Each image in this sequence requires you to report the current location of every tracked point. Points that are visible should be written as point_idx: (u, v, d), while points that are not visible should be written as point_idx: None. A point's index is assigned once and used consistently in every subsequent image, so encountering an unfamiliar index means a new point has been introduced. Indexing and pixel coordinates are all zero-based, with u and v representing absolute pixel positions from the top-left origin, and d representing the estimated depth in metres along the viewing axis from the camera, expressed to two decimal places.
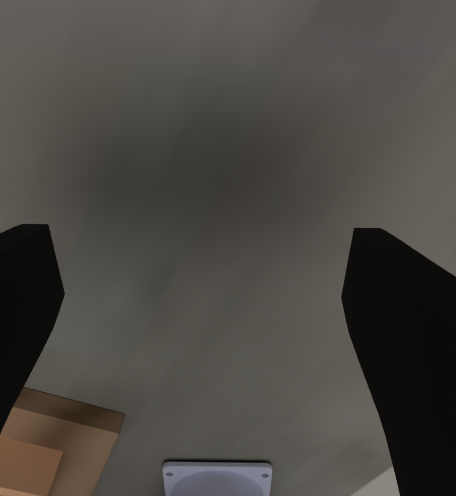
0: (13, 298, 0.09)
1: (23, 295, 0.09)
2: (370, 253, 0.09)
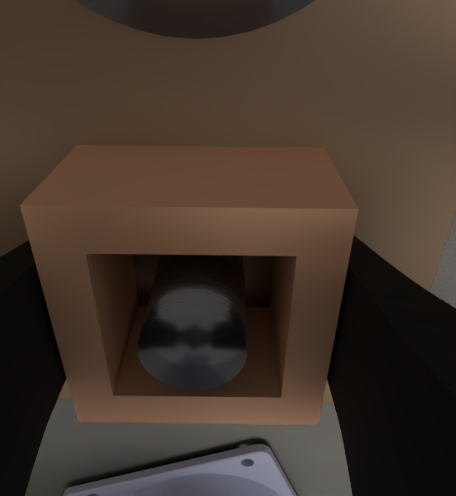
0: None
1: None
2: None
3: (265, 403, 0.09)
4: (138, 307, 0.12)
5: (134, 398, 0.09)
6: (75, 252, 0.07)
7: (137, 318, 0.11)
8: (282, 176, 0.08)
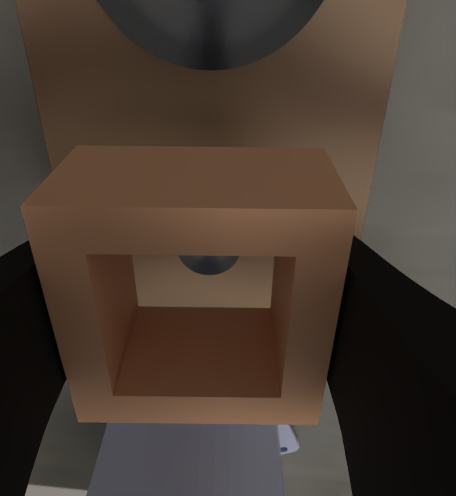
0: None
1: None
2: None
3: (264, 404, 0.09)
4: (138, 307, 0.12)
5: (134, 398, 0.09)
6: (75, 252, 0.07)
7: (137, 318, 0.11)
8: (282, 177, 0.08)
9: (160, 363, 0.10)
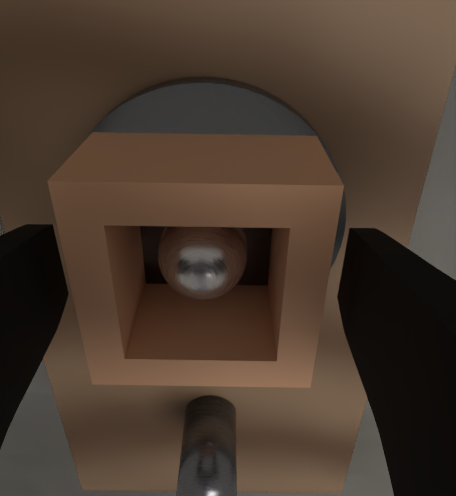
0: (19, 298, 0.09)
1: (28, 295, 0.09)
2: (365, 253, 0.09)
3: (262, 367, 0.10)
4: (145, 284, 0.13)
5: (143, 362, 0.10)
6: (94, 224, 0.08)
7: (145, 294, 0.12)
8: (278, 159, 0.09)
9: (167, 332, 0.11)
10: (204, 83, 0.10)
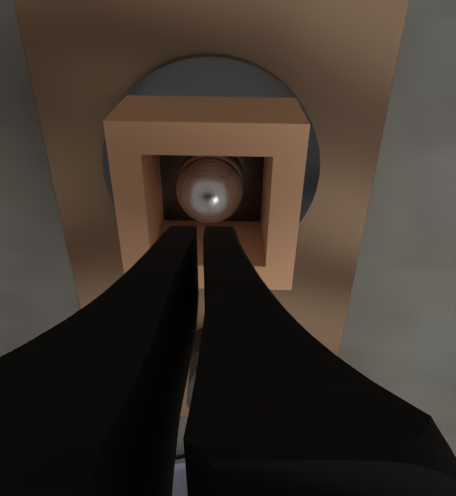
0: (186, 300, 0.09)
1: (189, 297, 0.09)
2: (204, 251, 0.09)
3: None
4: (163, 220, 0.16)
5: None
6: (134, 154, 0.12)
7: (163, 226, 0.16)
8: (265, 110, 0.12)
9: None
10: (211, 57, 0.13)
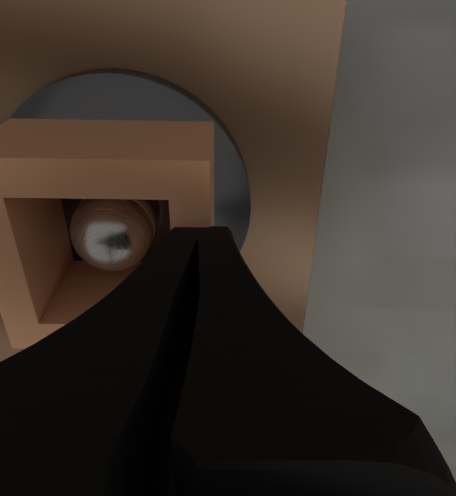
0: (191, 300, 0.09)
1: (194, 297, 0.09)
2: None
3: None
4: (73, 261, 0.14)
5: (56, 326, 0.11)
6: None
7: (70, 269, 0.13)
8: (165, 140, 0.10)
9: (83, 301, 0.12)
10: (107, 73, 0.11)
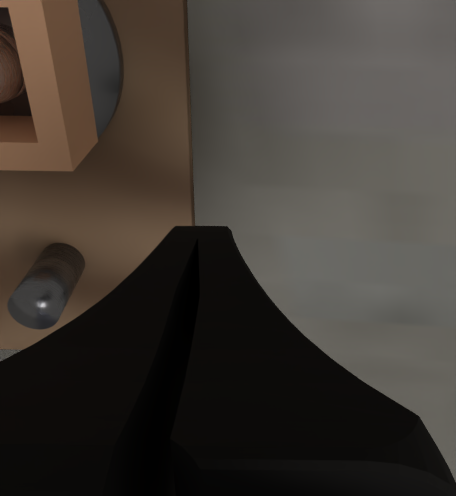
0: (191, 300, 0.09)
1: (194, 297, 0.09)
2: None
3: (28, 149, 0.13)
4: None
5: None
6: None
7: None
8: None
9: None
10: None
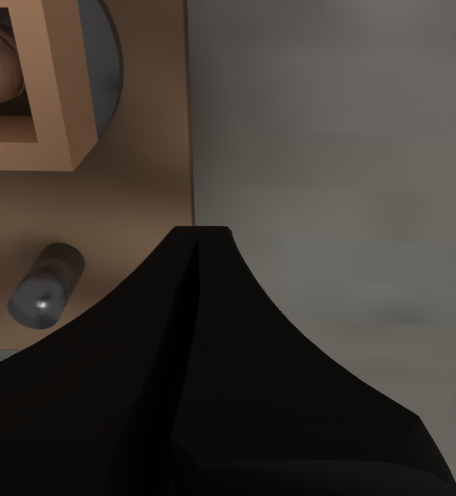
0: (191, 300, 0.09)
1: (194, 297, 0.09)
2: None
3: (28, 149, 0.13)
4: None
5: None
6: None
7: None
8: None
9: None
10: None
